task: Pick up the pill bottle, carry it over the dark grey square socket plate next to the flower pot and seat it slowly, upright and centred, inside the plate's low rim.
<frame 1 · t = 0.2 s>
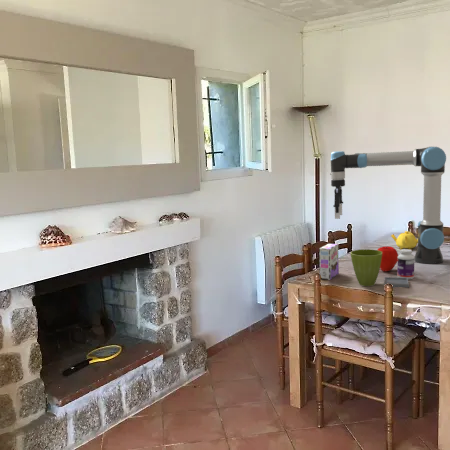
hand: (338, 216, 286), 28 cm above the table, fingers open, 13 cm apart
apple: (386, 271, 272), on the table
teapot: (406, 248, 325), on the table
candy box: (329, 276, 267), on the table
socket plate: (396, 284, 246), on the table
pill bottle: (405, 278, 256), on the table
flower pot: (366, 284, 249), on the table
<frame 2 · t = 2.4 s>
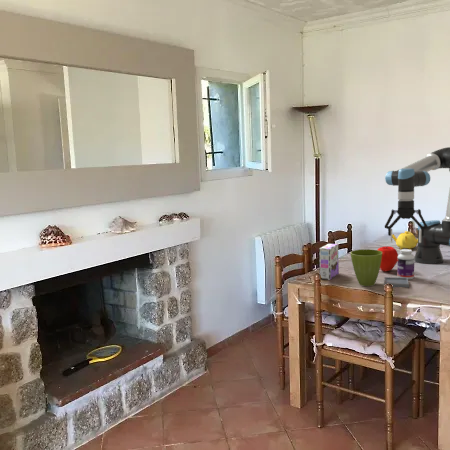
hand: (405, 242, 254), 18 cm above the table, fingers open, 13 cm apart
nothing on the table moved.
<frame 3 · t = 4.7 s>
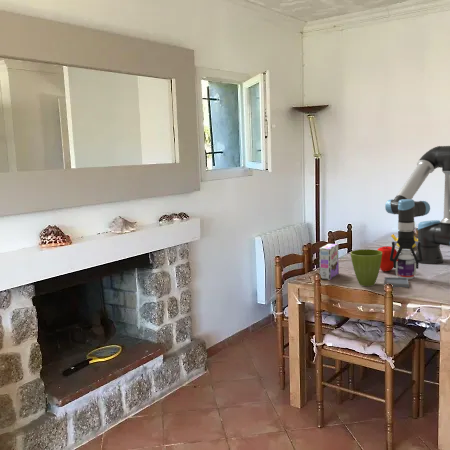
hand: (405, 274, 256), 2 cm above the table, fingers closed on pill bottle, 8 cm apart
pill bottle: (405, 278, 256), on the table, touching gripper
everything else where it was.
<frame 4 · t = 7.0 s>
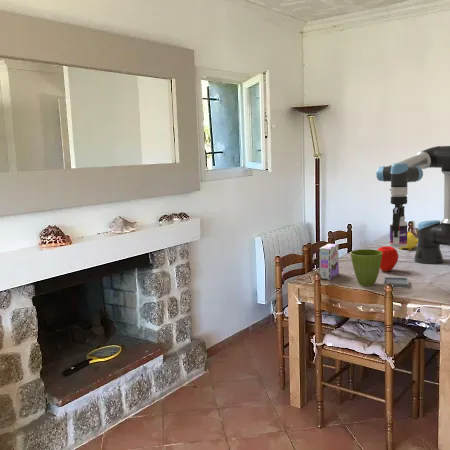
hand: (398, 242, 246), 20 cm above the table, fingers closed on pill bottle, 8 cm apart
pill bottle: (398, 246, 246), point 18 cm above the table, touching gripper
everything else where it was.
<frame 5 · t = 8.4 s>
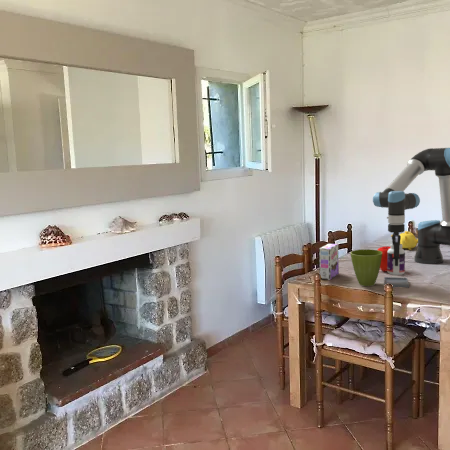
hand: (396, 270, 245), 7 cm above the table, fingers closed on pill bottle, 8 cm apart
pill bottle: (396, 273, 245), point 5 cm above the table, touching gripper
everything else where it was.
when the fingers open (3 cm above the table, at t = 9.6 s): pill bottle stays where it is, resting on socket plate.
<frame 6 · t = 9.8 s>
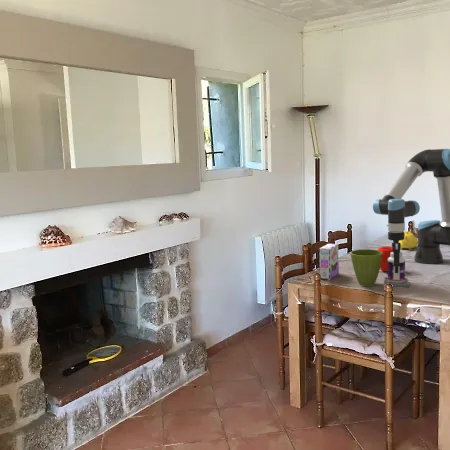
hand: (396, 276, 245), 4 cm above the table, fingers open, 10 cm apart
pill bottle: (396, 282, 246), point 1 cm above the table, touching socket plate
everything else where it was.
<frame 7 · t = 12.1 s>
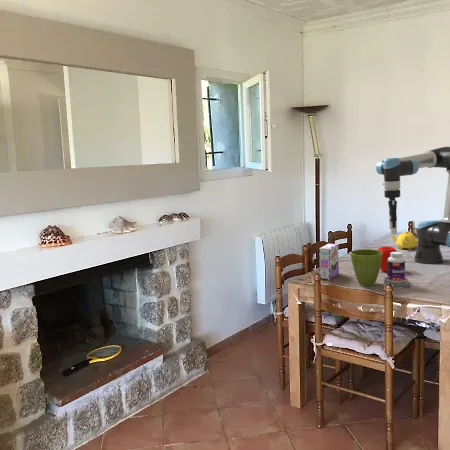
hand: (393, 231, 255), 24 cm above the table, fingers open, 13 cm apart
nothing on the table moved.
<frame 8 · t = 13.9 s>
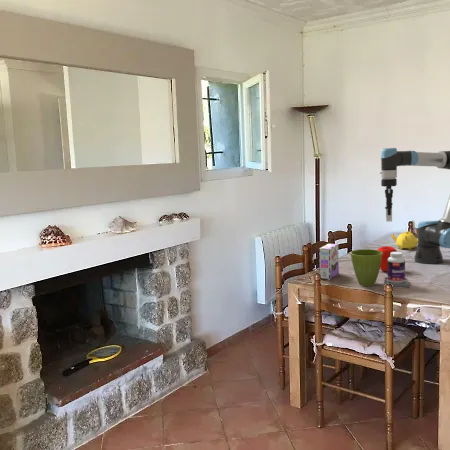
hand: (388, 219, 263), 29 cm above the table, fingers open, 13 cm apart
nothing on the table moved.
at the end: pill bottle 0.1 cm off-centre on the socket plate, point 1.0 cm above the socket plate's base; pill bottle tilted 0°; the gripper is holding nothing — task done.
